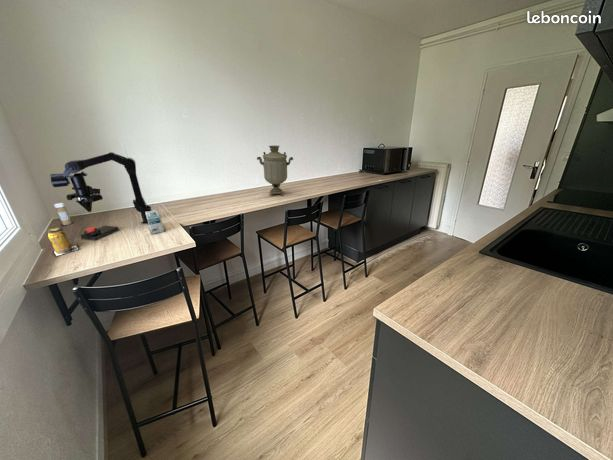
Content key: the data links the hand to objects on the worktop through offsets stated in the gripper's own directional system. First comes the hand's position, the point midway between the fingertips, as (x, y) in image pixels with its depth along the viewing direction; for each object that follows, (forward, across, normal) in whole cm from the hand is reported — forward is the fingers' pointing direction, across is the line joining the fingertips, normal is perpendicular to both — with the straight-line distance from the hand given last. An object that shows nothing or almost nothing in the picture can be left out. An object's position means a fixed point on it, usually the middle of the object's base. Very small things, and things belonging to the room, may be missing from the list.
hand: (90, 211), depth 143 cm
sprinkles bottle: (+12, +29, -4) cm, 32 cm away
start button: (+8, -7, +8) cm, 13 cm away
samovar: (+12, -77, -101) cm, 128 cm away
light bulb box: (+12, -34, -9) cm, 37 cm away
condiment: (+12, -9, +23) cm, 28 cm away
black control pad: (+12, -7, +4) cm, 14 cm away
